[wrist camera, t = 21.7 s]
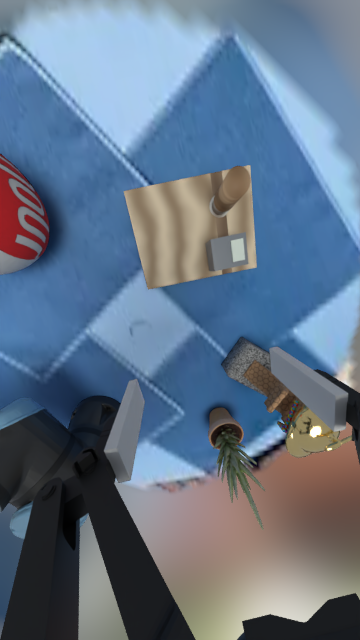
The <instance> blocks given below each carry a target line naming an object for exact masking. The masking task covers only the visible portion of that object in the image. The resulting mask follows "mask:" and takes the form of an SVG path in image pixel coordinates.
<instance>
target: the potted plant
mask: <svg viewBox="0 0 360 640" xmlns="http://www.w3.org/2000/svg"><path fill="white" fill-rule="evenodd" d="M208 437H209V441H210V443H211V445H212V446H213V447H214V448H213V449H215V448H216V449H219V450H220V453H219V456H218V460H217V464H218V463H219V467H218V477H219V472H220V468H221V464H222V460H223V456H224V460H223V467H222V482H223V478H224V473H225V470H226V471H227V480H228V485H229V490H230V497H231V501H232V502H233V486H234V490H235V495H236V497H237V482H236V475H237V477H238V479H239V481H240V484H241V487H242V489H243V491H245V492H244V493H246V495H247V498H248V500H249V502H250V505H251V507H252V509H253V511H254V513H255V516H256V518H257V520H258V522H259V524H260V526H261V528H262V530H263V526H262V522H261V519H260V517H259V514H258V511H257V508H256V506H255V504H254V501H253V499H252V496H251V494H250V491H249V489H248V487H249V488H250V486H249V484H248V481H247V479H246V476H245V475H244V473H246V474H247V475H248V476H250V477H251V478H252V479H253V480H254V481H255V482H256V483H257V484H258V485H259V486H260V487H261V488H262V489H263V490H264V491H265V489H264V488H263V487H262V485H261V484H260V483H259V481H258V480H257V479H256V478H255V477H254V476H253V475H252V473H251V472H250V471H249V470H248V469H247V468H246V467H245V466H244V465H243V464H242V462H241V461H240V460H242V461H244V462H245V463H247V464H248V465H249V466H251V467H252V468H253V466H252V465H251V464H250V463H249V462H248V461H247V460H246V459H245V458H244V457H243V456H242V455H241V454H240V453H239V452H241V453H242V454H243V455H244V456H245V457H247V458H248V459H249V460H250V461H252V462H253V463H254V464H256V462H255V461H254V460H253V459H252V458H250V457H249V456H248V455H247V454H246V453H244V452H243V451H242V450H241V449H239V448H238V447H237V445H240V446H242V447H244V448H245V446H243V445H242V444H240V442H241V440H242V439H243V430H242V428H241V426H240V424H239V423H238V422H237V421H236V420H234V419H233V418H232V417H231V415H230V414H229V412H228V411H227V410H226V409H225V408H215V409H213V410H212V411H211V413H210V426H209V431H208ZM238 451H239V452H238ZM256 465H257V464H256ZM246 484H247V485H246ZM247 486H248V487H247ZM237 499H238V497H237Z"/></svg>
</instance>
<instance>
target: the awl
mask: <svg viewBox="0 0 360 640" xmlns="http://www.w3.org/2000/svg"><path fill="white" fill-rule="evenodd" d="M250 182H251V178H250V174H249V172H248V171H247V169H246V168H244V167H242V166H236V167H233V168H232V169H230V171H229V172H228V173H227V175H226V177H225V179H224V180H223V182H222V184H221V186H220V187H219V189H218V191H217V192H216V194H215V197H214V201H213V203H212V210H213V212H214V213H215V214H216V215H223V214H224V213H225V212H227V211H229V210H230V209H231V208H232V207H233V206H234V205H235V204H236V203H237V202H238V201H239V199H240V198H241V197H242V196H243V195H244V194H245V193H246V192H247V191H248V189H249V187H250Z"/></svg>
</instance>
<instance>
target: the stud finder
mask: <svg viewBox="0 0 360 640" xmlns="http://www.w3.org/2000/svg"><path fill="white" fill-rule="evenodd" d="M205 245H206V252H207V258H208V265H209V271H218V270H223V269H228V268H232V267H237V266H242V265H246V264H248V252H247V240H246V232H244V233H239V234H234V235H230V236H225V237H220V238H216V239H211V240H209V241H208V242H207V243H206V244H205Z"/></svg>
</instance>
